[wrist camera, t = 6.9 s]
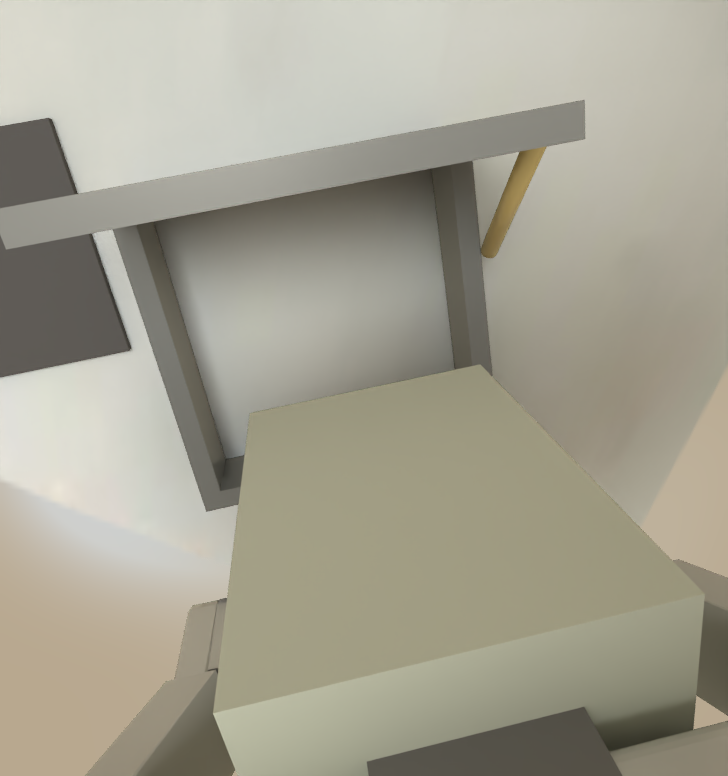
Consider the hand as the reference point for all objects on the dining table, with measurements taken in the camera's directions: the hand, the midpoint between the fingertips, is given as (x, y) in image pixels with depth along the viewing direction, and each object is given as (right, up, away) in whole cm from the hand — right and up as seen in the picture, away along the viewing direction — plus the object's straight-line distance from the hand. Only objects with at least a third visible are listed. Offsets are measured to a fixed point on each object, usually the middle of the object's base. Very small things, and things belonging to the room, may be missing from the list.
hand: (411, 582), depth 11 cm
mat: (-18, +10, +16) cm, 26 cm away
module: (0, +1, +2) cm, 3 cm away
